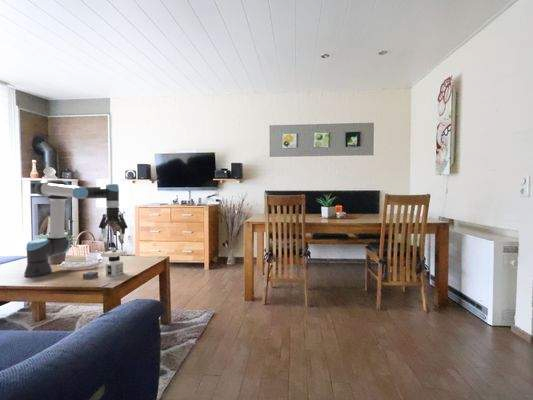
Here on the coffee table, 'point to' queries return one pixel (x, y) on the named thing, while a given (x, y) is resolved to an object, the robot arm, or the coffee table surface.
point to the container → (114, 266)
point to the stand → (90, 275)
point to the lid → (114, 253)
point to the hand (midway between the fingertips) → (113, 238)
